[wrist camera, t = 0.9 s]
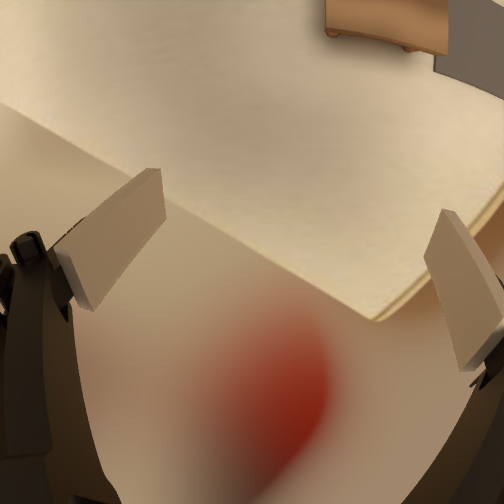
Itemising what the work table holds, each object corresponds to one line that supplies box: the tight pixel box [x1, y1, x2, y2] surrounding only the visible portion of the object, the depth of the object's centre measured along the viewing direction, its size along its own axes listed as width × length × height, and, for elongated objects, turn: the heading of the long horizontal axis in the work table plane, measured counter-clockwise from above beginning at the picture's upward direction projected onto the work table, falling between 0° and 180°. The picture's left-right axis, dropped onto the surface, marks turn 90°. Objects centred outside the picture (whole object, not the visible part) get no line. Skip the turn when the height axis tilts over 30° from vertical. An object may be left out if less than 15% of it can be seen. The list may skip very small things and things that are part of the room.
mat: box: [433, 0, 504, 99], centre depth 18 cm, size 14×14×1 cm
